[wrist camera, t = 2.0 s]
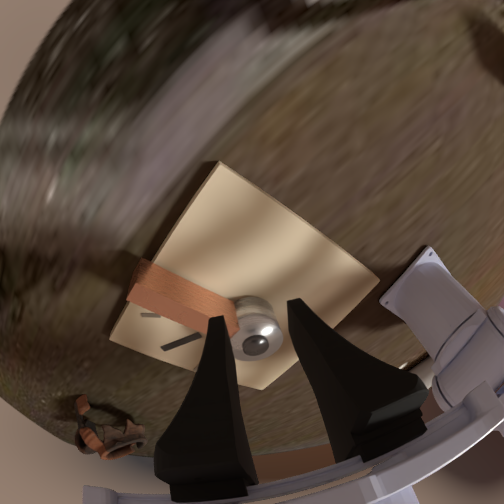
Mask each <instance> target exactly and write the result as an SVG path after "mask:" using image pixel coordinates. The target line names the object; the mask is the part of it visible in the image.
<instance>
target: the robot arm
mask: <svg viewBox="0 0 504 504" xmlns="http://www.w3.org/2000/svg"><path fill="white" fill-rule="evenodd" d="M379 302H380V304H381V305H382V306H384V307H385V308H387V309H388V310H390V311H391V312H392V313H394V314H395V315H397V316H398V317H400V318H401V319H402V320H404V321H405V322H406V324H407V325H408V326H409V328H410V329H411V330H412V332H413V333H414V334H415V336H416V337H417V339H418V340H419V341H420V343H421V344H422V345H423V347H424V348H425V349H426V351H427V352H428V354H429V355H430V356H431V358H432V359H433V361H434V362H435V363H434V364H433V365H432V366H431V369H432V371H433V372H434V374H435V375H434V376H433V378H432V390H433V394H434V397H435V399H436V401H437V403H438V405H439V406H440V407H441V409H442V410H443V411H444V413H443V414H441V415H439V416H438V417H436V418H434V419H433V420H431V421H429V422H427V423H426V424H424V422H423V420H422V418H421V416H422V412H421V410H420V407H421V405H422V404H423V403H424V401H425V400H426V398H427V396H428V394H429V390H428V389H427V387H426V386H425V384H424V383H423V381H422V380H421V379H420V378H419V376H418V375H417V374H414V373H411V372H408V371H405V370H402V369H399V368H396V367H394V366H392V365H389V364H387V363H385V362H383V361H381V360H379V359H377V358H375V357H373V356H371V355H369V354H367V353H366V352H364V351H362V350H361V349H359V348H358V347H356V346H355V345H353V344H352V343H350V342H349V341H347V340H346V339H345V338H343V337H342V336H341V335H339V334H338V333H337V332H336V331H334V330H333V329H332V328H331V327H330V326H329V325H327V324H326V323H325V322H324V321H323V320H322V319H321V318H320V317H319V316H318V315H317V314H316V313H315V312H314V311H312V309H311V308H310V307H309V306H308V305H307V304H306V303H305V302H304V301H303V300H302V299H301V298H296V299H292V300H288V301H287V315H288V331H289V334H290V337H291V340H292V344H293V347H294V350H295V352H296V354H297V356H298V358H299V360H300V363H301V365H302V367H303V369H304V371H305V373H306V375H307V377H308V380H309V382H310V384H311V386H312V388H313V391H314V393H315V396H316V399H317V402H318V405H319V408H320V411H321V414H322V417H323V420H324V423H325V427H326V430H327V433H328V437H329V440H330V444H331V447H332V450H333V455H334V458H335V462H336V464H334V465H331V466H328V467H325V468H322V469H319V470H316V471H312V472H309V473H305V474H302V475H298V476H294V477H290V478H287V479H282V480H278V481H274V482H269V483H264V484H259V481H258V478H257V474H256V470H255V467H254V463H253V459H252V455H251V451H250V447H249V443H248V439H247V435H246V431H245V426H244V422H243V418H242V413H241V407H240V400H239V391H238V382H237V372H236V363H235V358H234V354H233V349H232V344H231V340H230V337H229V333H228V330H227V326H226V322H225V318H224V315H221V316H216V317H211V318H210V319H209V320H208V329H207V335H206V340H205V344H204V348H203V352H202V356H201V359H200V362H199V365H198V368H197V371H196V374H195V377H194V379H193V382H192V384H191V387H190V389H189V391H188V393H187V395H186V397H185V399H184V401H183V403H182V405H181V407H180V409H179V410H178V412H177V414H176V415H175V417H174V419H173V420H172V422H171V423H170V425H169V426H168V428H167V429H166V431H165V432H164V433H163V435H162V436H161V437H160V439H159V440H158V441H157V443H156V446H155V452H154V472H155V476H156V477H157V478H159V479H160V480H162V481H164V482H166V483H168V484H169V485H170V494H131V493H117V492H116V491H114V490H111V489H108V488H103V487H95V486H87V485H84V486H83V504H242V503H248V502H254V501H260V500H265V499H270V498H275V497H280V496H284V495H288V494H292V493H296V492H300V491H303V490H307V489H311V488H314V487H317V486H320V485H324V484H327V483H330V482H333V481H336V480H339V479H342V478H344V477H347V476H350V475H352V474H355V473H357V472H360V471H363V470H365V469H367V468H370V467H372V466H374V465H376V466H374V467H373V468H372V471H371V472H370V473H368V474H367V475H365V476H363V477H361V478H358V479H355V480H352V481H349V482H346V483H343V484H340V485H337V486H334V487H331V488H328V489H325V490H322V491H319V492H316V493H312V494H308V495H305V496H302V497H298V498H295V499H291V500H287V501H283V502H279V503H275V504H419V501H418V499H417V497H416V495H415V493H414V490H413V488H412V485H414V484H415V483H417V482H419V481H421V480H423V479H424V478H426V477H428V476H429V475H431V474H433V473H434V472H436V471H438V470H439V469H441V468H442V467H444V466H445V465H447V464H448V463H450V462H451V461H453V460H454V459H456V458H457V457H459V456H460V455H461V454H463V453H464V452H466V451H467V450H468V449H470V448H471V447H472V446H474V445H475V444H476V443H477V442H479V441H480V440H481V439H482V438H484V437H485V436H486V435H487V434H489V433H490V432H491V431H494V430H498V431H499V432H500V433H501V434H502V436H503V437H504V385H503V386H502V387H501V388H500V389H499V391H497V392H496V393H495V391H496V389H498V388H499V386H500V385H501V384H502V383H503V382H504V309H503V308H501V307H500V306H496V307H490V308H489V310H488V311H487V310H485V309H484V308H483V307H482V306H481V305H480V304H479V303H478V302H477V301H476V299H475V298H474V297H473V296H472V295H471V294H470V293H469V292H468V291H467V290H466V289H465V288H464V287H463V286H462V285H461V284H460V283H459V282H457V281H456V280H455V279H454V278H453V277H452V276H451V274H450V273H449V271H448V270H447V268H446V267H445V266H444V264H443V263H442V261H441V260H440V259H439V257H438V256H437V254H436V253H435V252H434V250H433V249H432V248H431V247H430V246H427V247H426V248H425V249H424V250H423V251H422V252H421V254H420V255H419V256H418V257H417V258H416V260H415V261H414V262H413V263H412V264H411V265H410V266H409V268H408V269H407V270H406V271H405V272H404V273H403V274H402V275H401V277H400V278H399V279H398V280H397V281H396V282H395V283H394V284H393V285H392V286H391V288H390V289H389V290H388V291H387V292H386V293H385V294H384V295H383V296H382V297H381V298H380V300H379ZM383 461H384V462H383ZM381 462H382V463H381ZM379 463H380V464H379ZM377 464H378V465H377ZM258 484H259V485H258Z"/></svg>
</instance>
